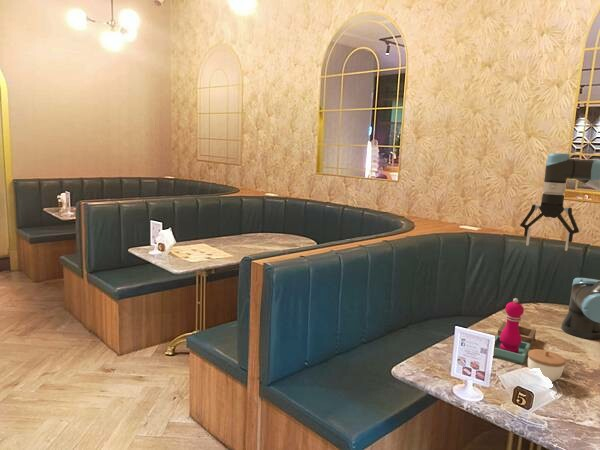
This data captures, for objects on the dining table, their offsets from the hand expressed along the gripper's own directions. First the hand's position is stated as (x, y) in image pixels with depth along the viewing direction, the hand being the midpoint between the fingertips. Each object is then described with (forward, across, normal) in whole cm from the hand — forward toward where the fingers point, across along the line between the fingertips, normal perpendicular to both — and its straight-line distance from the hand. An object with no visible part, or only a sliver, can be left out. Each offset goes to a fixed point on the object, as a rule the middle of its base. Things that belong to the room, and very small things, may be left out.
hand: (546, 247), depth 184 cm
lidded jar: (+37, +7, -40) cm, 55 cm away
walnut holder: (+36, -6, -10) cm, 38 cm away
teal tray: (+36, -6, -26) cm, 45 cm away
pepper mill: (+36, -6, -26) cm, 44 cm away
